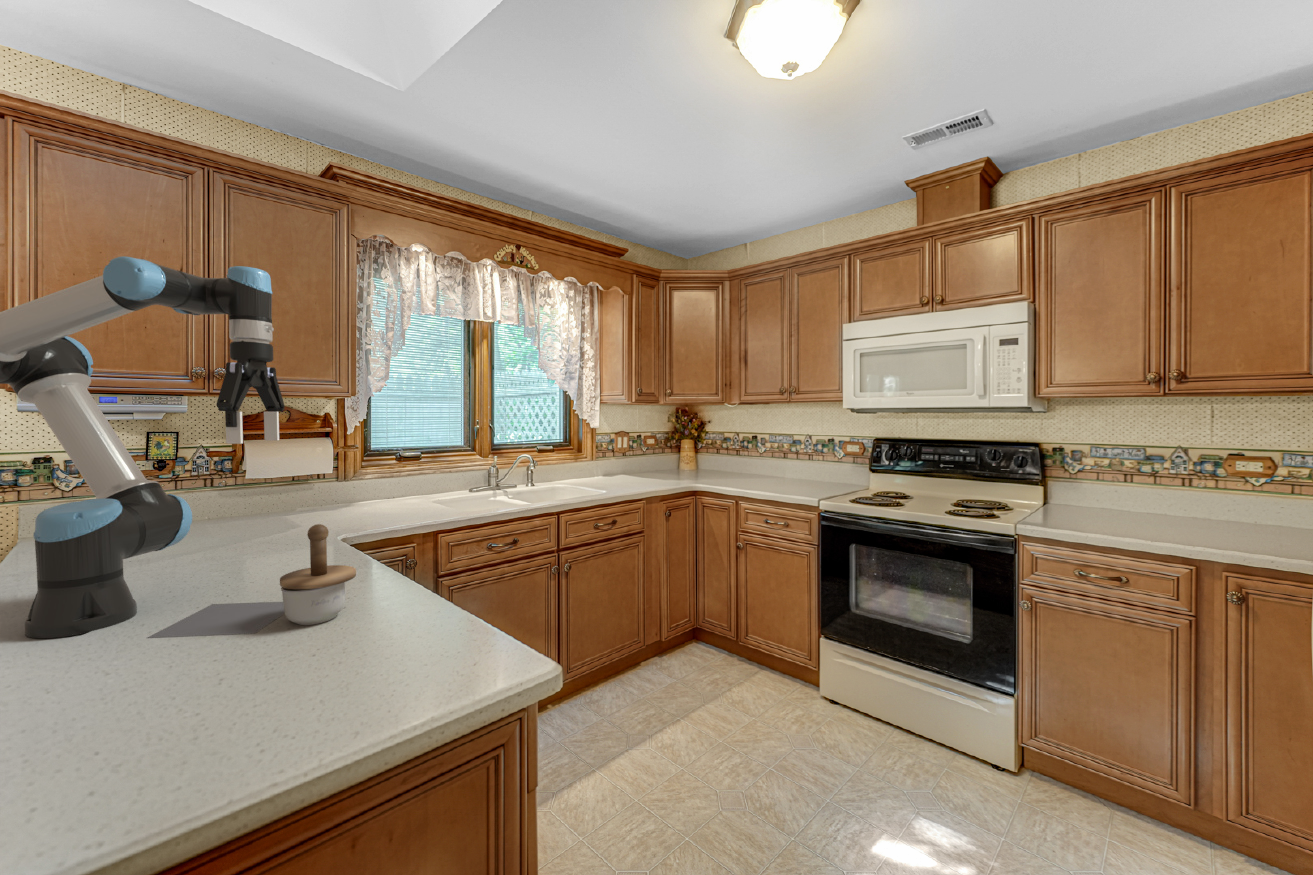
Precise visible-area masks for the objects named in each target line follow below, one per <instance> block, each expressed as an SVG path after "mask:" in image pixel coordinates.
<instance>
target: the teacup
mask: <svg viewBox="0 0 1313 875" xmlns="http://www.w3.org/2000/svg"><path fill="white" fill-rule="evenodd" d="M280 591H281V594H282V595H281V596H282V602H283V605H284V611H285V614H284V615H285V617H286V618H287V620H289V621H290V622H292V623H294V624H297V625H301V626H310V625H318V624H322V623H326V622H328V621H330V620H331V621H332V620H333V619H335V618H336V617H337V615H338V614H340V613H341V611H342V610H343V609H344V608H345V605H346V582H344V583H341V584H337V585H333V586H328V587H322V588H314V589H287V588H283V587H281V586H280Z"/></svg>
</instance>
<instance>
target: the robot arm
mask: <svg viewBox="0 0 1313 875" xmlns="http://www.w3.org/2000/svg"><path fill="white" fill-rule="evenodd" d="M156 305H158V306H163V307H168V308H171V309H172V310H173V311H175V312H176V313H178V314H182V315H193V316H200V315H228V332H229V333H228V336H229V337H228V338H229V339H230V340H231V341H232V342H230V343H229V358H230V360H231V361H235V362H226V364H225V374H224V377H223V380H222V384H221V387H220V391H219V394H218V397H217V400H216V407H217V409H218V411H219V412H224V413H225V415H224V416H225V421H224V422H225V444H226V445H228V444H229V445H231V444H232V445H237V444H238V445H239V444H240V445H242V444H244V431H243V411H239V410H240V408H241V407H242V404H243V402H244V400H245V398H246V396H247V394H248V392H249V390H250V389H251V388H253V389H254V390H256V392H257V394H258V396H259V398H260V400H261V402H262V404H263V406H264V408H265V410H266V411H263V425H264V426H263V430H264V431H263V434H264V441H280V419H279V418H280V417H279V416H280V414H279V412H284V410H285V402H284V399H283V396H282V391H281V388H280V385H279V382H278V378H277V370H276V369H277V368H276V367H274V366H273V367H268V366H267V363H271V362H273V361H274V346H273V345H272V344H271V343H272V342H273V338H274V337H273V332H274V330H275V328H274V327H273V319H272V317H273V315H272V314H273V311H272V310H273V309H272V306H273V291H272V280H271V275H270V274H269V272H268V271H266V270H263V269H261V268H256V267H250V266H243V265H242V266H240V265H238V266H237V265H236V266H235V265H234V266H230V267H229V268H228V269H227V275H226V277H220V278H216V277H210V278H209V277H201V276H198V275H194V274H192V273H188V272H184V271H182V270H178V269H174V268H170V267H167V266H164V265H161V264H157V263H154V262H153V261H149V260H146V259H143V258H135V257H132V256H131V257H130V256H117V257H114V258H112V259H110V260H109V263H108V264H106V265H105V266H104V269H103V271H102V274H101V275H100V276H97V277H93V278H92V279H89V280H86V281H83V282H80V283H78V284H74V285H72V286H69V287H66V288H63V289H60V290H58V291H54V292H52V293H50V294H47V295H44V296H42V297H38V298H36V299H32V300H30V301H27V302H25V303H24V302H23V303H22V304H19V305H17V306H13V307H11V308H8V309H5V310H2V311H0V384H1V385H3V384H6V385H9V386H10V388H12V389H13V391H14V393H15V394H16V396H17V398H18V399H19V400H20V401H21V402H22V401H23V402H24V403H25V402H26V403H29V404H33V405H34V406H35V407H36V408H37V410H38V412H39V413H40V415H41V416H42V417H43V419H44V421H45V422H46V424H47V425H48V427H49V428H50V430H51V431H52V433H53V434H54V436H55V437H56V439H57V441H58V442H59V444H60V445H61V446H62V448H63V450H64V451H65V453H66V454H67V456H68V457H69V459H70V460H71V462H72V463H73V465H74V467H75V468H76V469H77V471H78V472H79V474H80V476H82V478H83V480H84V481H85V483H86V485H87V486H88V487H89V489H90V490H91V492H92V493H93V495H94V496H95V498H94V499H93V498H92V499H85V500H80V501H71V502H66V503H63V504H58V505H55V506H51V507H48V508H46V509H44V510H42V511H40V513H39V514H38V515H37V516H36V518H35V524H34V525H35V526H34V528H35V529H34V531H33V539H34V548H35V549H34V550H35V563H36V581H37V582H36V583H37V589H36V590H37V591H36V594H35V597H34V599H33V602H32V605H31V607H30V610H29V613H28V614H27V615H28V616H27V618H26V619H25V621H24V622H25V623H24V634H25V636H26V637H27V638H32V639H53V638H54V639H55V638H64V637H71V636H76V635H77V636H78V635H83V634H87V633H91V632H94V631H98V630H103V629H106V628H109V627H113V626H115V625H119V624H121V623H123V622H127V621H128V620H130V619H132V618H134V617H135V616H136V615H137V614H138V608H137V607H138V606H137V602H136V600H135V599H134V597H133V595H132V591H131V590H130V588H129V585H128V584H127V582H126V580H125V577H124V560H126V559H130V558H133V557H137V556H141V555H145V554H148V553H152V552H158V551H162V550H165V549H166V548H169V547H172V546H175V545H176V544H178V543H180V542H181V541H182V540H184V539H185V538H186V536H187V535H188V533H189V532H190V530H191V526H192V524H193V512H192V508H191V507H190V504H189V503H188V502H187V501H186V499H184V498H183V497H181V496H179V495H178V496H177V495H176V494H171V493H169V494H167V493H166V492H165V490H164V489H163V487H162V485H161V484H160V482H158V481H156V480H150V479H147V478H146V477H145V475H144V474H143V472H142V470H141V469H140V467H139V466H138V465H137V463H136V462H135V460H134V458H133V456H132V455H131V454H130V452H129V451H128V449H127V448H126V446H125V444H124V443H123V442H122V440H121V438H120V437H119V436H118V434H117V433H116V431H115V430H114V428H113V426H112V425H111V423H110V422H109V420H108V419H107V417H106V416H105V415H104V413H103V411H102V409H101V408H100V406H99V405H98V404H97V402H96V401H95V399H94V398H93V396H92V394H91V393H90V391H89V390H88V388H89V387H90V386H91V383H92V379H91V376H92V375H93V372H94V368H93V367H91V366H93V365H94V361H93V357H92V355H91V353H90V351H89V350H88V349H87V348H86V346H85V345H84V344H82V342H80V341H78V340H77V339H75V338H74V337H71V335H74V334H76V333H78V332H82V331H84V330H87V329H90V328H92V327H95V326H98V325H101V324H103V323H106V322H109V321H112V320H115V319H118V318H120V317H122V316H125V315H128V314H131V313H132V312H136V311H139V310H142V309H146V308H148V307H152V306H156Z"/></svg>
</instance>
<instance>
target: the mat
mask: <svg viewBox="0 0 1313 875" xmlns="http://www.w3.org/2000/svg"><path fill="white" fill-rule="evenodd" d="M284 615H285V611H284V605H283V601H266V602H265V601H264V602H258V601H257V602H233V603H232V602H230V603H211V604H210V605H207V606H206V607H203V608H202V609H199V610H198V611H196V612H194V613H192V614H190V615H188V616H186V617H184V618H183V619H180V620H178V621H177V622H175V623H172V624H171V625H169V626H167V627H165V628H163V629H161V630H159V631H157V632H156V633H154V634H152V635H149V636H147V637H146V639H162V638H163V639H164V638H165V639H166V638H182V637H183V638H184V637H185V638H186V637H190V638H191V637H209V636H211V637H212V636H213V637H214V636H232V635H233V636H235V635H236V636H237V635H255V634H256V633H258V632H260V631H261V630H262V629H264V628H265V627H267V626H268V625H270V624H272V623H273V622H274V621H276V620H277V619H279V618H280V617H282V616H284Z"/></svg>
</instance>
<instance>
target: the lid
mask: <svg viewBox="0 0 1313 875" xmlns="http://www.w3.org/2000/svg"><path fill="white" fill-rule="evenodd" d="M328 537H329V528H328V527H326V525H324V524H320V523H317V524H314V525H312V526H310V528H309V529H308V530H307V538H308V540H309V548H310V549H309V555H310V556H309V557H310V559H309V562H310V563H309V564H310V567H307V568H301V569H298V570H297V569H296V570H294V571H291V572H288V573H286V574H283V575H282V576H281V577H280V578H279V586H280V588H281V587H283V588H287V589H314V588H322V587H328V586H333V585H337V584H341V583H344V582H345V583H346V582H349V581H351V580H353V579H354V578H355V577H356V575H357V569H356V568H355V567H353V566H350V565H343V564H342V565H339V564H337V565H336V564H334V565H331V564H330V565H328V556H327V555H328V554H327V553H328V552H327V548H328V546H327V538H328Z"/></svg>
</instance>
